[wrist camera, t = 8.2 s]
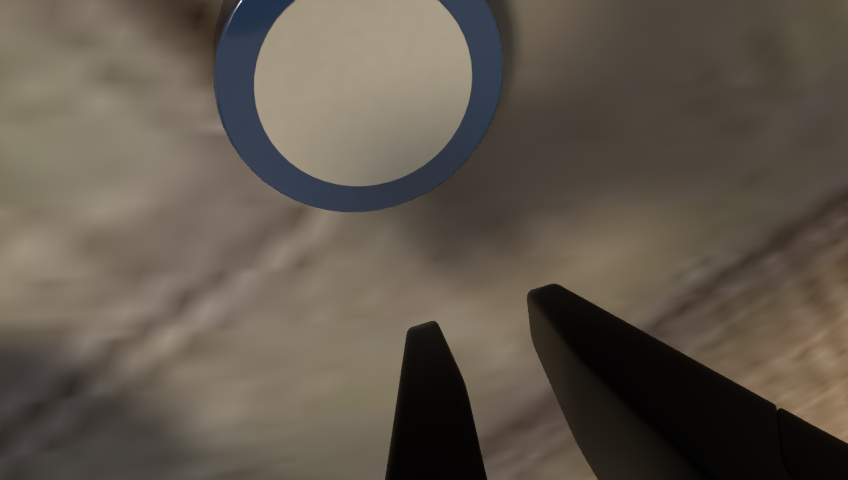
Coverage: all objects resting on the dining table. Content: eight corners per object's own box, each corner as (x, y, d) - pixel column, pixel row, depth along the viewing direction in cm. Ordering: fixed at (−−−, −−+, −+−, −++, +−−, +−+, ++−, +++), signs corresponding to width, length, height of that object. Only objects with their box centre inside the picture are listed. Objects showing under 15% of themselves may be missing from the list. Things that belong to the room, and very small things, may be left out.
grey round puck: (507, 95, 21) (542, 134, 19) (303, 207, 22) (313, 258, 19) (407, -146, 17) (438, -133, 15) (154, -1, 17) (146, 34, 15)
